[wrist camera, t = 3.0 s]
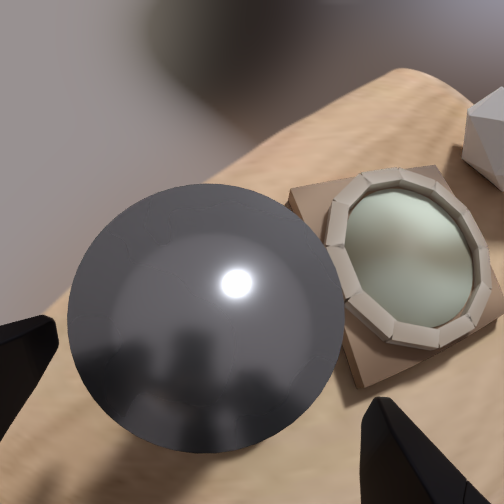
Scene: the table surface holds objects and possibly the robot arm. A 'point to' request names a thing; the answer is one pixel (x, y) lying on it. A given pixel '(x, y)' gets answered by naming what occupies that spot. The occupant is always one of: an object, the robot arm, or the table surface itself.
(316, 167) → the table surface
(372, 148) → the table surface
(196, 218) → the silver round peg
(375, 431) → the robot arm
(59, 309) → the table surface
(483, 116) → the die
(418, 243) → the board
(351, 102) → the table surface
